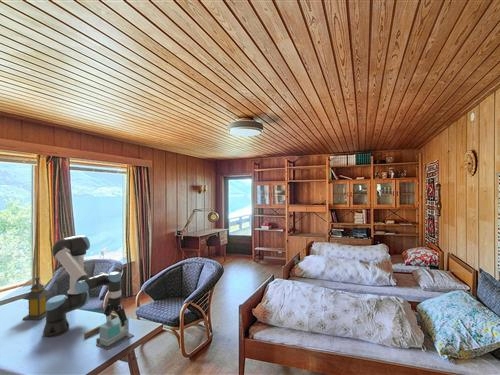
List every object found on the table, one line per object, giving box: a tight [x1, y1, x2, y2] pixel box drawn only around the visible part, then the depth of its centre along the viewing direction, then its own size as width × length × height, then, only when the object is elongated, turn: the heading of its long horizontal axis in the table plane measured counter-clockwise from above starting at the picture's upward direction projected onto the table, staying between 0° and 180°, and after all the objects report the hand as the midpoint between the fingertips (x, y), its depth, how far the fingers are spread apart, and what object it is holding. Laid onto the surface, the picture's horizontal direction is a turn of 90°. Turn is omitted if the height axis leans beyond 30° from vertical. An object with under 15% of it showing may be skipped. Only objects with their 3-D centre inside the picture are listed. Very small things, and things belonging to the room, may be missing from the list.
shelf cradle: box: [83, 312, 118, 344], centre depth 191 cm, size 15×18×14 cm
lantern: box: [22, 276, 52, 321], centre depth 216 cm, size 14×14×30 cm
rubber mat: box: [95, 332, 135, 352], centre depth 183 cm, size 12×19×1 cm, turn 151°
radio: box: [99, 316, 130, 346], centre depth 182 cm, size 16×9×20 cm, turn 153°
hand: (115, 328), depth 183 cm, fingers open, 13 cm apart
